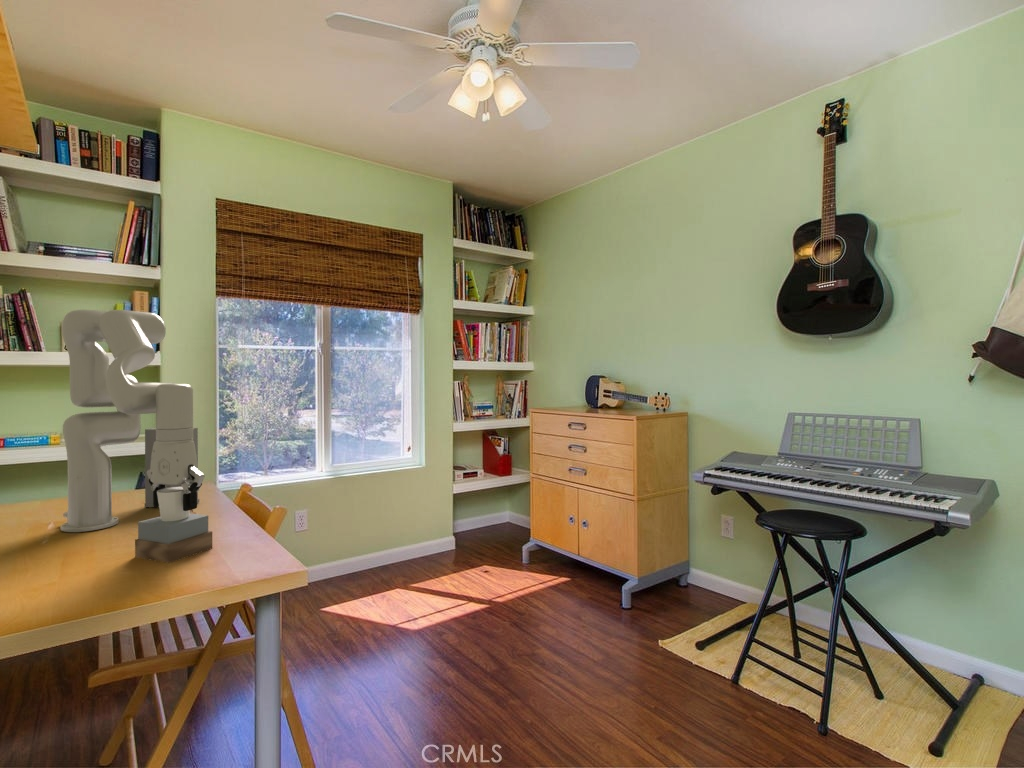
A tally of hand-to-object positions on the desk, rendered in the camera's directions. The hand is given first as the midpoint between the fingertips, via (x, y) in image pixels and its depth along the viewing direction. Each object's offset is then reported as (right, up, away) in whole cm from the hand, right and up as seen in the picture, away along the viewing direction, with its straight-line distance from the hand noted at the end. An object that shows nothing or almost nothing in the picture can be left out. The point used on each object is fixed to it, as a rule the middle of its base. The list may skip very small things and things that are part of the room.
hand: (175, 507), depth 125 cm
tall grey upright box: (-30, -10, +45) cm, 55 cm away
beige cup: (0, -3, 0) cm, 3 cm away
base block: (0, -11, 0) cm, 11 cm away
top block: (0, -7, 0) cm, 6 cm away
